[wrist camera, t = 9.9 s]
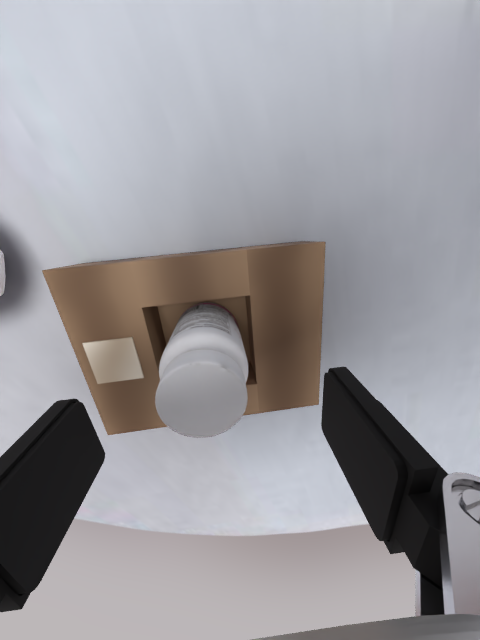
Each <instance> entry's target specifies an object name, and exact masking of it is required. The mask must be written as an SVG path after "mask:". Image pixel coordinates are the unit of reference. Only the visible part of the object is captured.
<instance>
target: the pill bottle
mask: <svg viewBox="0 0 480 640" xmlns="http://www.w3.org/2000/svg"><path fill="white" fill-rule="evenodd" d="M159 377H160V382H159V385H158V388H157V391H156V395H155V405H156V410H157V413H158V415H159V417H160V418H161V420H162V421H163V422H164V424H165V425H167V426H168V427H169V428H170V429H172V430H173V431H175V432H177V433H179V434H182V435H185V436H189V437H211V436H215V435H218V434H221V433H223V432H225V431H227V430H228V429H230V428H231V427H233V426H234V425H235V424H236V423H237V422H238V421H239V420H240V419H241V417H242V416H243V414H244V412H245V409H246V406H247V400H248V396H247V388H246V381H247V378H248V361H247V357H246V353H245V349H244V346H243V342H242V338H241V334H240V331H239V327H238V324H237V321H236V319H235V317H234V316H233V314H232V313H231V312H230V311H229V310H228V309H226V308H225V307H223V306H221V305H218V304H215V303H199V304H196V305H194V306H192V307H190V308H188V309H187V310H186V311H185V312H184V313H183V314H182V315H181V317H180V318H179V320H178V323H177V325H176V327H175V329H174V331H173V333H172V335H171V337H170V340H169V342H168V344H167V346H166V348H165V350H164V352H163V354H162V357H161V360H160V365H159Z"/></svg>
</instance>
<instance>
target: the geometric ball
mask: <svg viewBox="0 0 480 640" xmlns="http://www.w3.org/2000/svg"><path fill="white" fill-rule="evenodd" d="M5 279H6V276H5V263H4V254H3V252H2V251H1V250H0V296H1V295H3V294H4V289H5Z"/></svg>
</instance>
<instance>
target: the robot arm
mask: <svg viewBox="0 0 480 640" xmlns="http://www.w3.org/2000/svg"><path fill="white" fill-rule="evenodd" d="M321 424H322V430H323V433H324V435H325V437H326V439H327V441H328V443H329V445H330V447H331V449H332V451H333V453H334V455H335V457H336V459H337V461H338V463H339V465H340V467H341V469H342V471H343V473H344V475H345V477H346V479H347V481H348V483H349V485H350V487H351V489H352V491H353V493H354V495H355V497H356V499H357V501H358V503H359V505H360V507H361V509H362V511H363V513H364V515H365V517H366V519H367V521H368V523H369V524H370V526H371V528H372V530H373V532H374V534H375V536H376V537H377V539H379V541H384V543H385V545H386V546H387V548H388V550H389V552H390V554H394V553H401V552H405V553H406V555H407V557H408V559H409V561H410V562H411V564H412V566H413V568H415V569H416V617H409V618H400V619H392V620H384V621H376V622H368V623H360V624H352V625H344V626H338V627H332V628H325V629H318V630H311V631H305V632H299V633H292V634H286V635H279V636H273V637H266V638H259V639H252V640H480V477H477V476H474V475H471V474H467V473H458V472H456V473H452V474H447V473H446V472H445V470H444V469H443V468H442V467H441V466H440V465H439V464H438V463H437V462H436V461H435V460H434V459H433V458H432V457H431V456H430V455H429V453H428V452H427V451H426V450H425V449H424V448H423V447H422V446H421V445H420V444H419V443H418V442H417V441H416V440H415V439H414V437H413V436H412V435H411V434H410V433H409V432H408V431H407V430H406V429H405V428H404V427H403V426H402V425H401V424H400V423H399V422H398V420H397V419H396V418H395V417H394V416H393V415H392V414H391V413H390V412H389V411H388V410H387V409H386V408H385V407H384V406H383V404H382V403H380V402H379V401H378V400H376V399H375V398H374V397H373V396H372V395H371V394H370V392H369V391H368V390H367V389H366V388H365V387H364V386H363V385H362V384H361V383H360V382H359V381H358V380H357V378H356V377H355V376H354V375H353V374H352V373H351V372H350V371H349V370H348V369H347V368H346V367H337V368H330V369H329V371H328V373H325V375H324V390H323V406H322V423H321ZM104 459H105V452H104V449H103V447H102V445H101V443H100V440H99V438H98V436H97V434H96V431H95V429H94V427H93V425H92V422H91V420H90V418H89V416H88V413H87V411H86V409H85V407H84V405H83V403H81V402H79V400H77V399H69V400H60V401H57V402H56V403H54V404H53V405H52V406H51V407H50V408H49V409H48V410H47V411H46V412H45V413H44V414H43V415H42V416H41V417H40V418H39V419H38V420H37V421H36V422H35V423H34V424H33V425H32V426H31V427H30V428H29V429H28V430H27V431H26V432H25V433H24V434H23V435H22V436H21V437H20V438H19V439H18V440H17V441H16V442H15V443H14V444H13V445H12V446H11V447H10V448H9V449H8V450H7V451H6V452H5V453H4V454H3V455H2V456H1V457H0V612H5V611H12V610H18V609H22V608H23V606H24V604H25V602H26V600H27V598H28V597H29V595H30V593H31V592H32V591H33V590H35V588H36V587H37V586H38V585H39V583H40V581H41V580H42V578H43V576H44V574H45V572H46V570H47V568H48V566H49V564H50V563H51V561H52V559H53V557H54V555H55V553H56V551H57V549H58V547H59V546H60V544H61V542H62V540H63V538H64V536H65V534H66V532H67V530H68V528H69V527H70V525H71V523H72V521H73V519H74V517H75V515H76V513H77V511H78V510H79V508H80V506H81V504H82V502H83V500H84V498H85V496H86V494H87V492H88V491H89V489H90V487H91V485H92V483H93V481H94V479H95V477H96V475H97V474H98V472H99V470H100V468H101V466H102V464H103V462H104Z"/></svg>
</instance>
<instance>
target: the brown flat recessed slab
mask: <svg viewBox="0 0 480 640" xmlns="http://www.w3.org/2000/svg"><path fill="white" fill-rule="evenodd" d="M324 265H325V242H308V241H300V242H290V243H280V244H270V245H260V246H250V247H240V248H230V249H220V250H210V251H200V252H190V253H180V254H170V255H160V256H151V257H141V258H131V259H121V260H111V261H101V262H91V263H82V264H76V265H71V266H65V267H59V268H54V269H48V270H42V272H43V274H44V277H45V279H46V282H47V284H48V287H49V289H50V292H51V294H52V297H53V299H54V302H55V304H56V307H57V309H58V312H59V314H60V317H61V319H62V322H63V324H64V327H65V329H66V332H67V334H68V337H69V339H70V342H71V344H72V347H73V349H74V352H75V354H76V357H77V359H78V362H79V364H80V367H81V369H82V372H83V374H84V377H85V379H86V382H87V384H88V387H89V389H90V392H91V394H92V397H93V399H94V402H95V404H96V407H97V409H98V412H99V414H100V417H101V419H102V422H103V424H104V427H105V429H106V432H107V434H108V435H113V434H120V433H126V432H133V431H140V430H147V429H154V428H161V427H168V426H167V425H165V424H164V422H163V421H162V420H161V418H160V417H159V415H158V413H157V410H156V405H155V395H156V391H157V388H158V385H159V382H160V377H159V365H160V360H161V357H162V354H163V352H164V350H165V348H166V346H167V344H168V342H169V340H170V337H171V335H172V333H173V331H174V329H175V327H176V325H177V323H178V320H179V318H180V317H181V315H182V314H183V313H184V312H185V311H186V310H187V309H188V308H190V307H192V306H194V305H196V304H199V303H215V304H218V305H221V306H223V307H225V308H226V309H228V310H229V311H230V312H231V313H232V314H233V316H234V317H235V319H236V321H237V324H238V327H239V331H240V334H241V338H242V342H243V346H244V349H245V353H246V357H247V361H248V378H247V381H246V388H247V396H248V400H247V406H246V409H245V412H244V414H243V415H250V414H257V413H264V412H270V411H277V410H284V409H291V408H298V407H305V406H312V405H318V404H319V384H320V360H321V336H322V312H323V289H324Z"/></svg>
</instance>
